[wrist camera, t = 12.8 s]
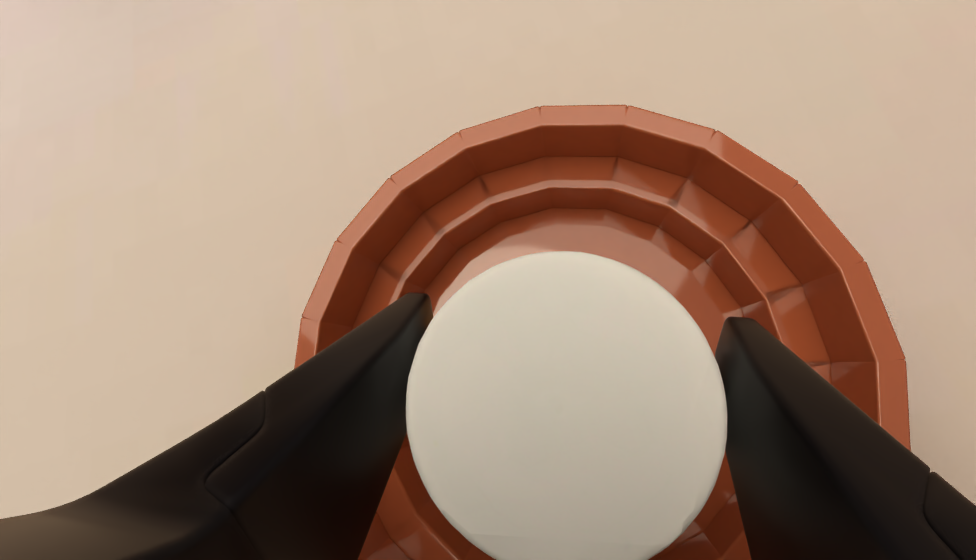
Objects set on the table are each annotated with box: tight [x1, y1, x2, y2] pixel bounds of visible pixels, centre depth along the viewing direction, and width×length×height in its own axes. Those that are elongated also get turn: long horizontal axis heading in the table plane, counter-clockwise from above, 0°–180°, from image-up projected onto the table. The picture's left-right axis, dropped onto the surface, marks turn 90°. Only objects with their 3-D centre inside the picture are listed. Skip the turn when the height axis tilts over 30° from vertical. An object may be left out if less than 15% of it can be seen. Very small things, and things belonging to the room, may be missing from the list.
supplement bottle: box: [406, 251, 727, 560], centre depth 11 cm, size 5×5×10 cm
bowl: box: [294, 105, 911, 560], centre depth 14 cm, size 14×14×4 cm
